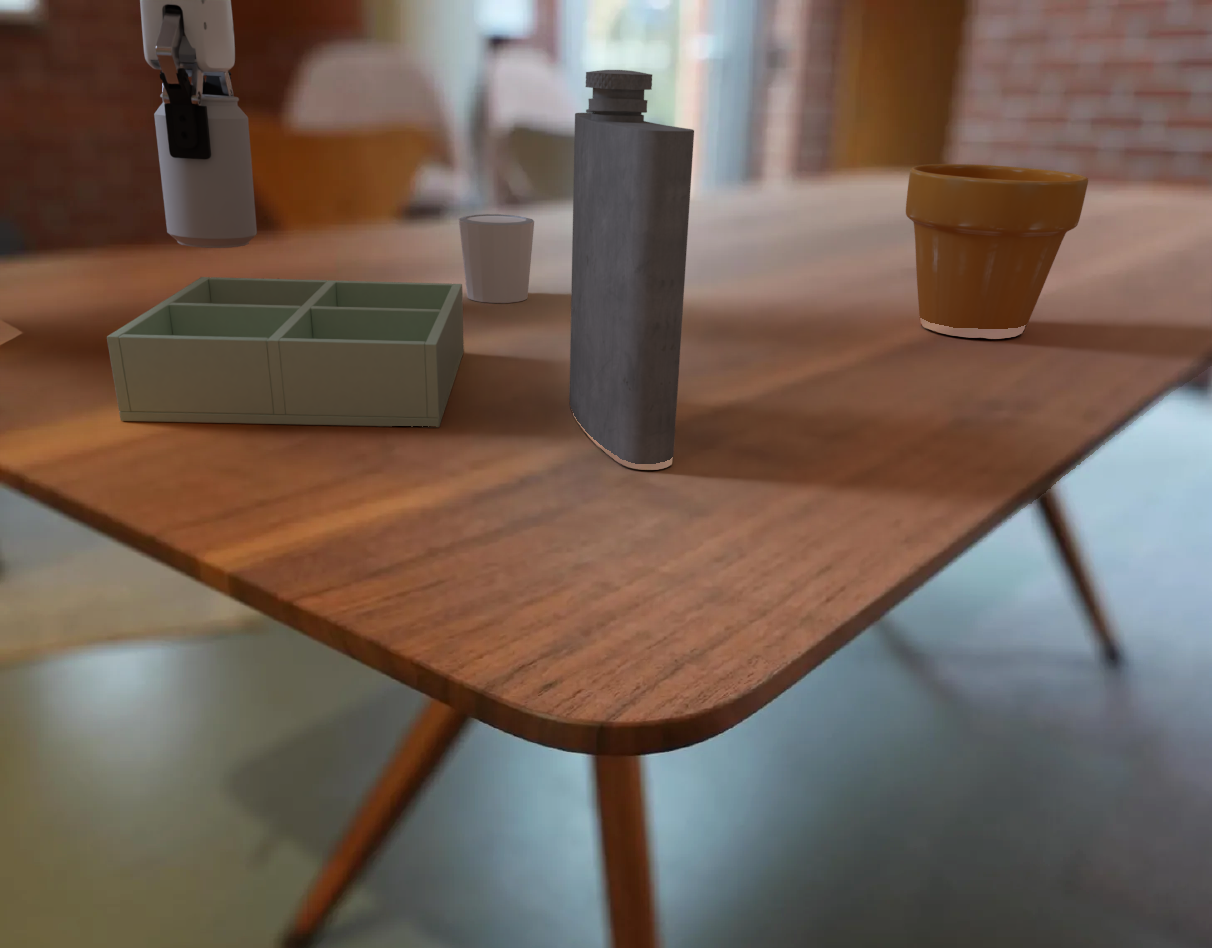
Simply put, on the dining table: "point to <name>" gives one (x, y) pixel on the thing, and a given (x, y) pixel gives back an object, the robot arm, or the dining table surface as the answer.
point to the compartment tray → (292, 353)
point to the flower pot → (987, 239)
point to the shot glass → (496, 256)
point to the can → (210, 181)
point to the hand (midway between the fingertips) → (205, 153)
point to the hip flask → (628, 268)
